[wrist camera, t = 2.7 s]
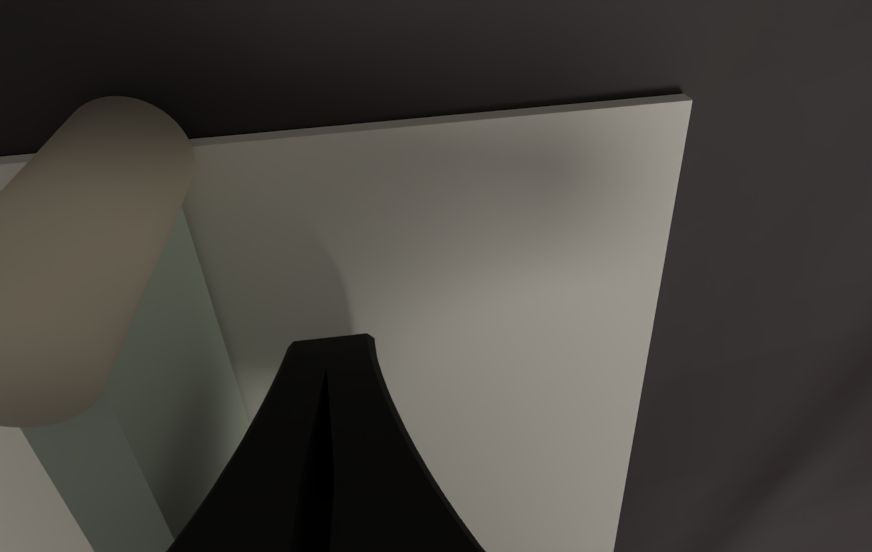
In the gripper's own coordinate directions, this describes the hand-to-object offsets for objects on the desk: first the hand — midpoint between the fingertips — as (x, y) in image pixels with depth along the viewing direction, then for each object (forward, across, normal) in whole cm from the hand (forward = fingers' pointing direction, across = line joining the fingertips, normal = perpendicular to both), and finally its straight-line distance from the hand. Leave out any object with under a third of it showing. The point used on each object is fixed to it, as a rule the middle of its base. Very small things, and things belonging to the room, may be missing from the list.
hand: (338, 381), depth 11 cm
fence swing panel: (+1, +3, 0) cm, 3 cm away
